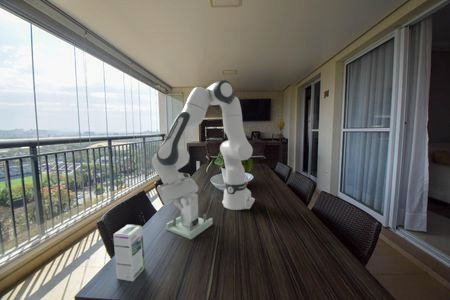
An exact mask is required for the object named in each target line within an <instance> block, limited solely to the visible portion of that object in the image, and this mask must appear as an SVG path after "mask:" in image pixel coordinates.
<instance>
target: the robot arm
mask: <svg viewBox="0 0 450 300" xmlns="http://www.w3.org/2000/svg"><path fill="white" fill-rule="evenodd" d="M209 106H211V107H213V106H220V108H221V112H222V113H221V115H222V124H223V131H224V133H225V134H226V137H227V139H228V140H225V141H223V142H222V143H221V144H220V145H219V151H220V153H221V155H222V158H223V162H224V167H225V168H224V169H225V183H224V185H225V188H224V190H223V200H222V201H221V203H222V205H223V207H224V208H226V209H227V210H231V211H240V210H241V211H242V210H250V209H251V208H252V206H253V204H254V203H255V200H256V199H255V198H254V197H252V192H251V190H250V189H248V188H247V185H248V183H249V182H248V181H247V180H246V179H245V178H246V176H245V175H246V172H245V167H244V166H243V163H242V161H246V160H249V159H250V158H251V156H252V155H253V151H254V149H253V147H252V145H251V144H250V142H249V140H248V139H247V137H246V136H247V135H246V133H245V129H244V124H243V123H244V122H243V113H242V107H241V103H240V99H239V98H238V97H237V96H236V94H235V90H234V86H233V85H232V83H231V82H230V81H229V80H226V79H223V80H221V79H220V80H218V81H216V82H214V83H212V84H210V85H209V86H208V87H206V88H205V87H202V86H197V87H194V88H193V89H192V90H191V91H190V94H189V95H188V97H187V99H186V102H185V104H184V107H183V109H182V110H181V112H180V113H179V114H177V116H176V118H175V119H174V121H173V123H172V125H171V126H170V129H169V130H168V133H167V134H166V137H165V139H164V140H163V141H162V143H161V144H160V145H159V146H158V147H157V151H156V153H155V154H154V156H152V158H151V164H152V167H153V170H155V172H156V174H157V175H158V176H159V177H160V178H161V179H160V180H161V182H162V183H163V184H160V185H158V186H157V188H156V190H157V192H158V194H159V196H160V199H161V201H162V203H163V204H164V205H166V206H167V205H170V204H172V205H174V206H175V207H176V208H177V209H178V210H180V211H181V209H182V208H183V207H184V206H183V205H182V204H181V202H180V203H179V201H181V197H182V195H185V194H187V193H193V194H197V192H198V191H199V186H198V185H197V183H196V182H195V180H194V179H193V178H191V175H190V174H189V173H184V172H179V170H181V168H183V167H186V166H187V164H188V163H189V162H190V158H191V157H190V153H189V151H188V150H187V149H185V148H183V147H181V146H180V145H179V144H180V143H181V139H182V138H183V135H184V134H185V132H186V130H187V129H188V128H190V127H193V126H194V127H195V126H199V125H201V124H202V122H203V121H204V119H205V117H206V113H207V111H208V108H209Z"/></svg>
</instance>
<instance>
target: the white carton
mask: <svg viewBox="0 0 450 300" xmlns="http://www.w3.org/2000/svg"><path fill="white" fill-rule="evenodd" d="M180 204H182V205H183V206H184V207H183V208H182V209H180V216H181V225H183V226H186V227H189V228H190V222H192V223H193V227H194V226H196V225H197V224H199V220H198V217H199V195H198V194H197V193H196V194H193V193H187V194H185V195H182V197H181V199H180Z"/></svg>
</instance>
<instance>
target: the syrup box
mask: <svg viewBox="0 0 450 300" xmlns="http://www.w3.org/2000/svg"><path fill="white" fill-rule="evenodd" d="M143 233H144V232H143V226H142V225H138V224H126V225H125V226H124V227H122V228H120V229H119V230H118V231H116V232H115V233H113V245H114V246H113V247H114V259H115V260H114V261H115V269H116V271H115V272H116V278H117V280H122V281H128V282H134V281H135V280H136V278H137V277H138V276H139V275H140V274H141V273H143V271H144V270H145V268H146V263H145V262H146V261H145V249H144V235H143Z"/></svg>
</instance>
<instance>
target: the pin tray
mask: <svg viewBox="0 0 450 300" xmlns="http://www.w3.org/2000/svg"><path fill="white" fill-rule="evenodd" d="M202 217H203V218H202ZM202 217H199V216H198V220H199V224H197V225H196V226H194V227H193V223H192V222H190V228H189V227H186V226H183V225H181V215H180V216H178V217H176V216H173V217H172V220H171V221H169V222H167V223H165V229H166V231H169V232H171V233H174V234H175V235H176V234H177V235H179V236H182V237H184V238H186V239H189V240H193V239H194V238H195V237H197V236H199V234H200V233H202V232H204V231H206V229H208V228H209V227H211V226H212V225H213V223H214V222H213V217H210V218H208V219H207V215H206V214H205V213H204V214H203V215H202Z"/></svg>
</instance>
